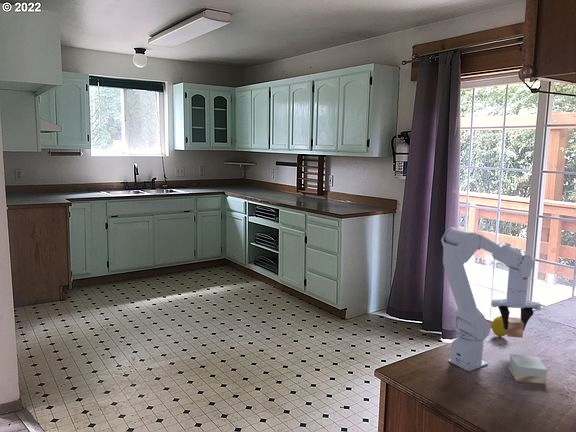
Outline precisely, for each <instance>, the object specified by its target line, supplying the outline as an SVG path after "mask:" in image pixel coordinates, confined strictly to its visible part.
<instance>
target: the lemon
mask: <svg viewBox="0 0 576 432" xmlns="http://www.w3.org/2000/svg"><path fill="white" fill-rule="evenodd" d="M491 330H492V331H493V334H494V335H495V336H497V337H498V338H501V337H505V336H507V335H506V333H505V332H504V327H503V319H502V316H501V315H500V316H497V317H495V318H494V319H493V321H492V324H491Z"/></svg>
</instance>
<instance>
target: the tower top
mask: <svg viewBox="0 0 576 432" xmlns="http://www.w3.org/2000/svg"><path fill="white" fill-rule="evenodd" d="M509 362H510V364H511V366H512V367H513V369H514V371H515V373H516V374H517V375H527V376H536V377H545V378H546V379H547V368H546V366H545V365H544V363H543V362H542V360H541V359H540V357H538V356H531V355H529V356H528V355H520V354H513V353H512V354H509Z"/></svg>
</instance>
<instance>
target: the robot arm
mask: <svg viewBox="0 0 576 432" xmlns="http://www.w3.org/2000/svg"><path fill="white" fill-rule="evenodd" d="M440 241H441V244H442V247H443V248H442V249H443V253H442V264H443V267H444V270H445V273H446V278H447V280H448V283H449V285H450V289H451V292H452V295H453V298H454V302H455V304H456V307H457V309H456V310H455V311H454V312H453V314H454V326H455V327H456V329H457V333H458V337H457V338H455V339H454V340H453V341H452V342H451V347H450V358H449V359H448V360H447V361H448V362H449V363H451V364H453V365H455V366H457V367H459V368H461V369H463V370H465V371H467V372H470V371H474V370H476V369H478V368H482V367H484V366H487V365H488V364H489V363H488V362H487V361H484V359H483V350H484V342H485V341H484V340H486V338H487V337H488V336H489V335H490V333H491V325H490V322H488V321H487V320H486V317H485V315H484V314H483V313H482V312H481V310H479V308H478V307H477V304H476V300H475V298H474V294H473V291H472V288H471V285H470V282H469V278H468V275H467V272H466V268H465V265H464V264H465V263H468V262H469V260H470V259H471V258H472V256H474V254H475V253H476V252H477V251H478V250H479V251H481V250H484V251H486V252H488V253H491V256H492V258H493V259H494V260H495V261H497V262H499V263H502V264H504V265H505V266H506V268H508V278H507V288H506V289H507V291H506V298H504V299H503V298H502V299H501V298H500V299H491V303H490V304H491V307H492V308H498V309H499V312H500V316H502V319H503V327H504V328H505V329H507V328H508V318H509V317H510V313H511V312H510V310H509V309H510V308H512V309H514V308H515V309H520V319H521V320H522V321H523V322H524V329H523V332H524V331H525V328H526V326H527V324H528V322H529V320H530V319H531V318H532V316H533V315H534V310H537V311H541V309H542V308H541V307H542V304H541V303H540V302H536V301H530V300H527V293H528V292H527V291H528V283H529V282H528V281H529V278H530V276H531V272H532V270H533V268H534V265H535V262H534V259H533V258H532V256H531V255H529V254H527V253H524V252H521V250H520V249H518V248H513V247H512V246H511V245H512V244H510V243H508V242H500V243H498V244H497V243H496V242H494V241H493V240H491V239H489V238H487V237H486V236H484V235H482V234H480V233H476V232H473V231H467V230H464V229H461V228H457V227H453V226H452V227H449V228H448V229H446V231H445V232H444V234H443V236H442V237H441V239H440Z"/></svg>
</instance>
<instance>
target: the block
mask: <svg viewBox="0 0 576 432" xmlns="http://www.w3.org/2000/svg"><path fill="white" fill-rule="evenodd" d="M523 329H524V322H523V321H522V320H521V317H512V316H511V317H510V316H509V318H508V328H507V329H505V328H504V332H505V333H506V335H505V336H507V337H508V338H521V339H522V338H523V337H524V331H523ZM524 330H525V329H524Z"/></svg>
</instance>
